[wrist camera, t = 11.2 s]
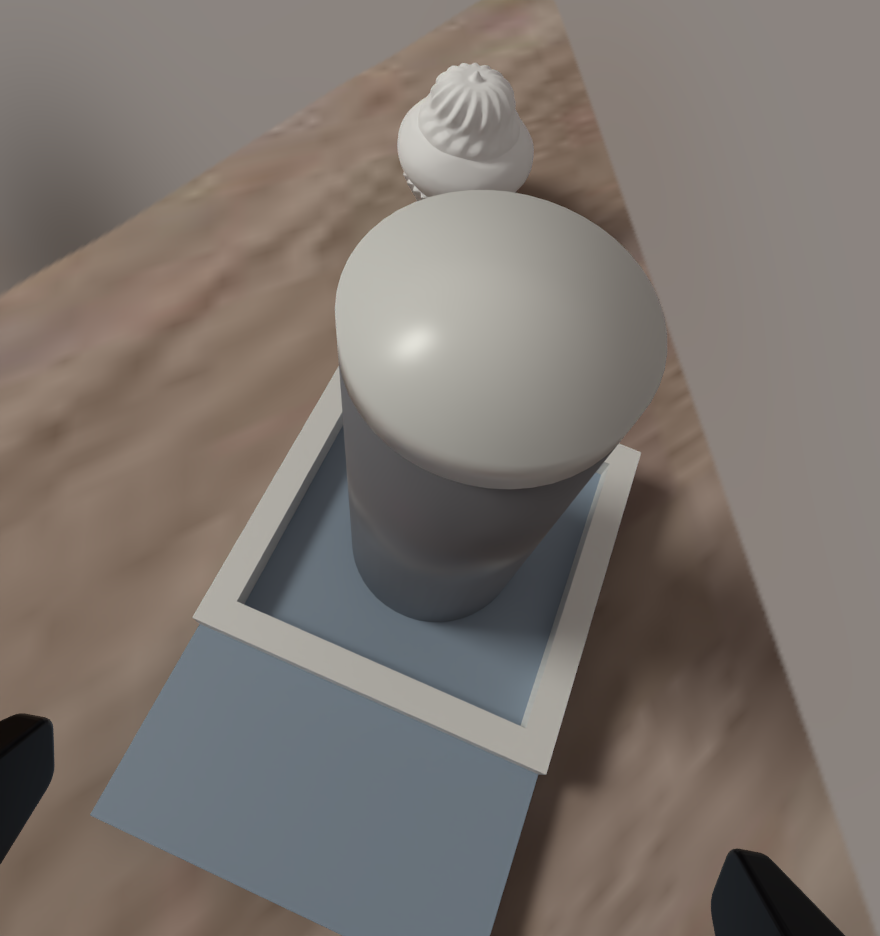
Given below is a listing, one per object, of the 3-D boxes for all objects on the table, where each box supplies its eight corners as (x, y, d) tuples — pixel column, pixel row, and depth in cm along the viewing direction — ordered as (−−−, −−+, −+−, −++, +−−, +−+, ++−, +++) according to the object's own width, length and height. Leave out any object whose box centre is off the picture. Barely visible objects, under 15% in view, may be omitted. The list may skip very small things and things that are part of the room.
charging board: (466, 985, 19) (477, 1009, 17) (102, 812, 20) (75, 817, 18) (622, 474, 26) (641, 452, 25) (356, 366, 27) (355, 338, 25)
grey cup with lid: (442, 659, 22) (532, 539, 10) (316, 541, 23) (261, 308, 11) (549, 536, 24) (727, 317, 12) (429, 434, 25) (484, 145, 13)
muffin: (367, 210, 31) (367, 68, 25) (444, 147, 33) (461, 3, 27) (469, 278, 30) (496, 148, 24) (541, 208, 32) (583, 73, 26)
